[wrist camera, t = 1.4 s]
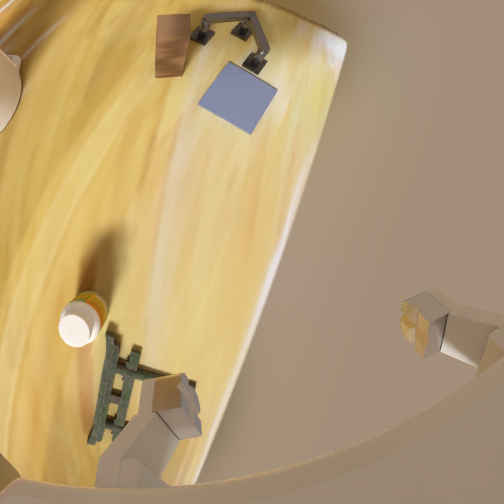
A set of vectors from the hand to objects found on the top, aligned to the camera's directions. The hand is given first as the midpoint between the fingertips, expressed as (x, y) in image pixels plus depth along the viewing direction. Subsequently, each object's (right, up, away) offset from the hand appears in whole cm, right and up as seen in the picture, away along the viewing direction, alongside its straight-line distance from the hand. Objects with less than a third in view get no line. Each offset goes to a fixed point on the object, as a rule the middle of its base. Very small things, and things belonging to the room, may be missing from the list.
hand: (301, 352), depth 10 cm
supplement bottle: (-24, -5, +28) cm, 37 cm away
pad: (-4, +27, +31) cm, 41 cm away
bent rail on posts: (-5, +37, +30) cm, 48 cm away
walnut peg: (-14, +31, +28) cm, 44 cm away
